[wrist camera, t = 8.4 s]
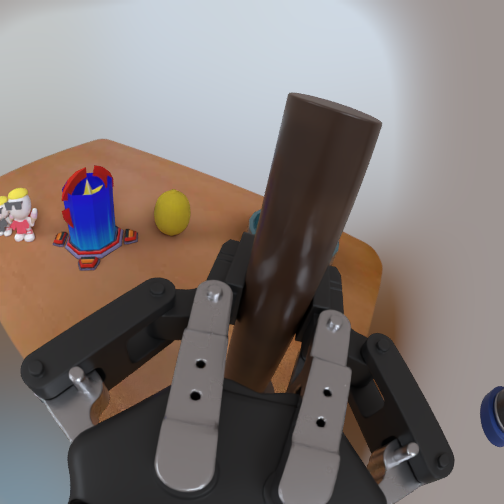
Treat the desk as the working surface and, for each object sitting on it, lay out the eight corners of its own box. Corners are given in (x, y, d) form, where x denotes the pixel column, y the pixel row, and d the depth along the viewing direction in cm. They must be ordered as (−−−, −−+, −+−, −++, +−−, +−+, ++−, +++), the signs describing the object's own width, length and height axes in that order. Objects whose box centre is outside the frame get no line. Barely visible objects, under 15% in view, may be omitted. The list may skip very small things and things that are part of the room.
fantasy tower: (101, 211, 46) (97, 147, 38) (144, 237, 42) (144, 164, 35) (48, 240, 37) (34, 171, 29) (86, 275, 33) (70, 196, 26)
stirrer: (268, 374, 19) (376, 114, 9) (270, 431, 16) (445, 155, 5) (206, 368, 19) (254, 81, 8) (200, 425, 15) (253, 94, 5)
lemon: (173, 250, 41) (175, 203, 36) (147, 236, 43) (146, 190, 38) (195, 234, 45) (200, 189, 40) (169, 221, 47) (171, 178, 42)
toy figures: (-9, 235, 34) (-20, 194, 29) (5, 221, 37) (-5, 182, 32) (33, 245, 35) (22, 199, 30) (47, 230, 38) (38, 185, 33)
